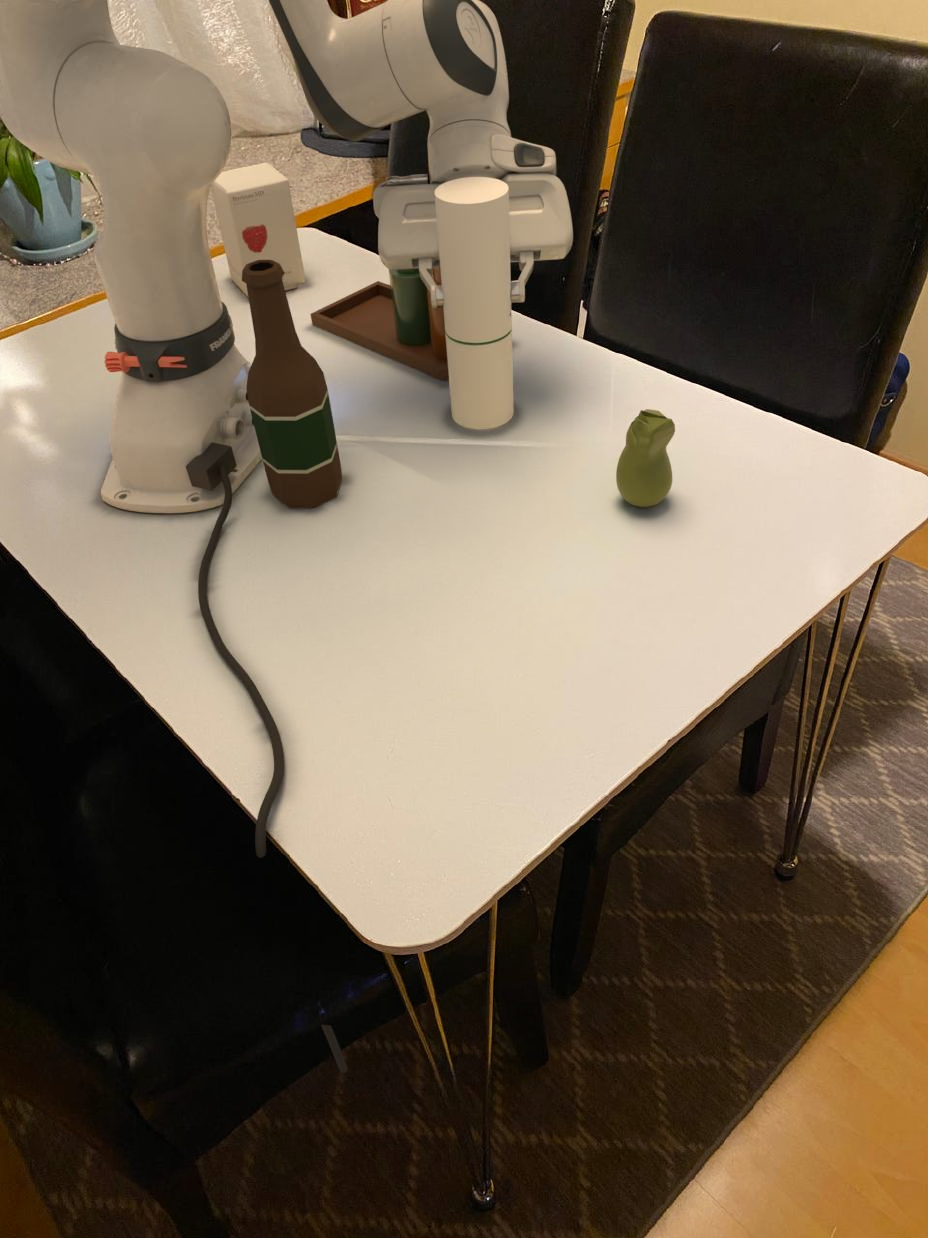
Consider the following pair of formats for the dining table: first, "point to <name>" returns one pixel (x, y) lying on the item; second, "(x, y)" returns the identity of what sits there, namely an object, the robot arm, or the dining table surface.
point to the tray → (376, 328)
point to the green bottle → (410, 307)
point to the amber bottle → (437, 322)
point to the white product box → (258, 221)
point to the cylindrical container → (477, 298)
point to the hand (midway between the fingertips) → (478, 303)
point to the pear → (646, 460)
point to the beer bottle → (288, 398)
